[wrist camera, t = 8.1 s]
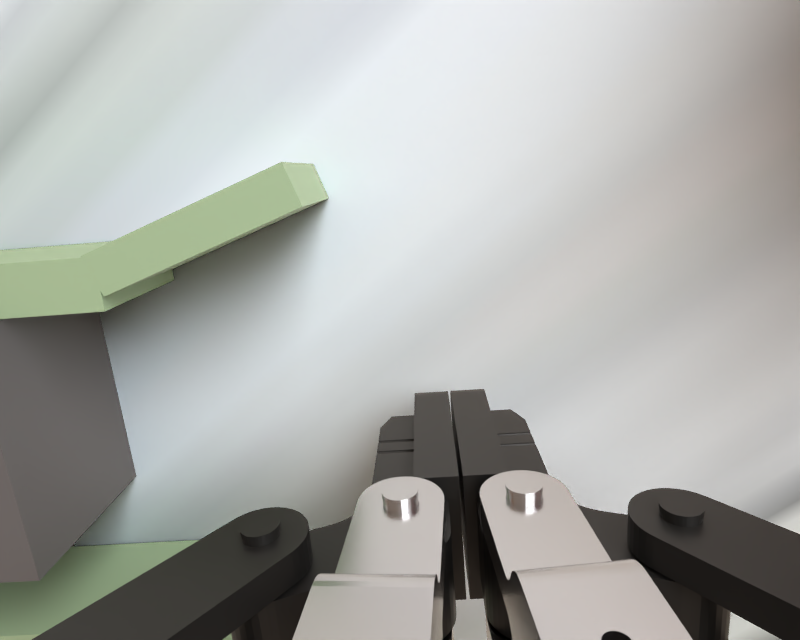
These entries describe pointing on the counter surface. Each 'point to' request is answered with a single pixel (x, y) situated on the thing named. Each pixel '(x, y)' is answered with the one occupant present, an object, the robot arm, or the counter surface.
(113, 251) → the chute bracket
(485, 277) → the counter surface
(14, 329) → the chute block
